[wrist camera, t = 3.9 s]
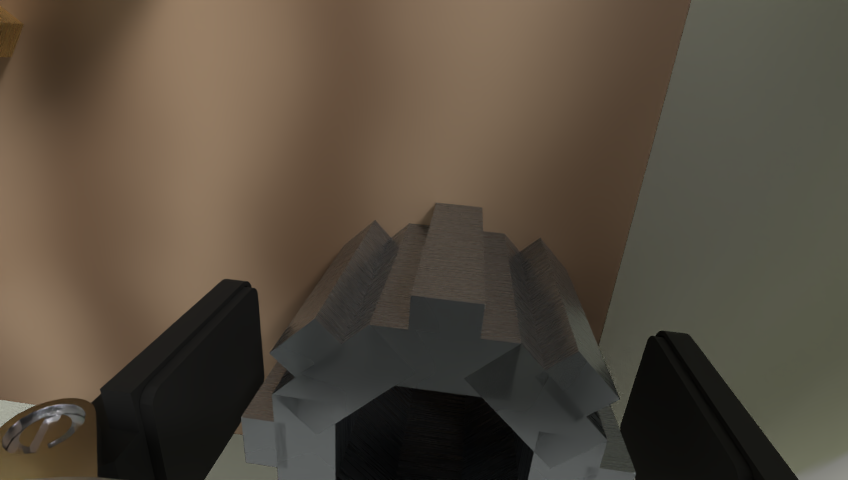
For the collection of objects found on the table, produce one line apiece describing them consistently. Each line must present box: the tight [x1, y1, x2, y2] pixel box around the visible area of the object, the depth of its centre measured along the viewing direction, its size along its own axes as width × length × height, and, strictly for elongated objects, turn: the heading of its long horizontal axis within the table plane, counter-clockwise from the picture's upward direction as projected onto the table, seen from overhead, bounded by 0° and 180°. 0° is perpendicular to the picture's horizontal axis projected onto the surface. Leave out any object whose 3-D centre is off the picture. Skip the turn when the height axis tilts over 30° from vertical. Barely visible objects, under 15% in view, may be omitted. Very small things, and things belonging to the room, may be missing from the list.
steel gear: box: [241, 203, 636, 480], centre depth 10 cm, size 7×7×4 cm
